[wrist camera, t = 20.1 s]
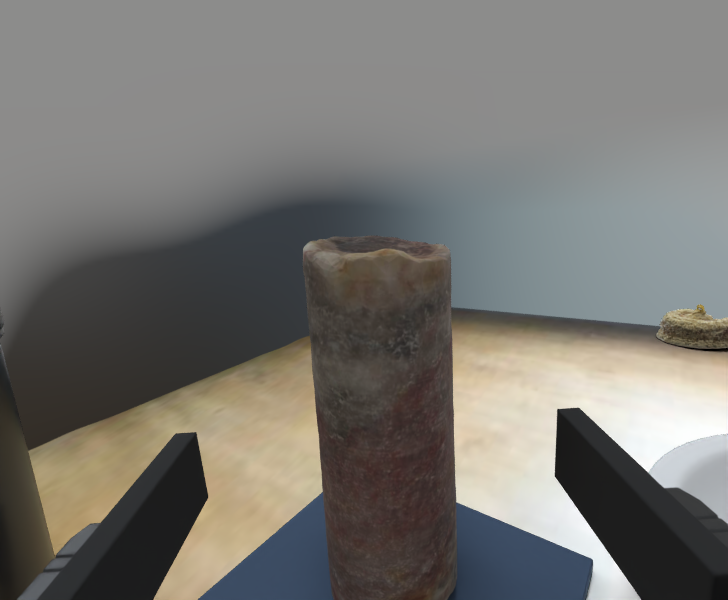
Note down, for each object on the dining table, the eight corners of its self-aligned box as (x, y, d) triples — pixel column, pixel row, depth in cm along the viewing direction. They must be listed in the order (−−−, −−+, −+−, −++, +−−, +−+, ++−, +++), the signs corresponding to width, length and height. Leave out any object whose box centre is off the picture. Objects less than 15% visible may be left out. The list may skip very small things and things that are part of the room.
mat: (186, 624, 23) (183, 610, 23) (359, 470, 35) (358, 461, 35) (500, 970, 12) (500, 949, 12) (592, 572, 24) (593, 558, 24)
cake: (700, 359, 53) (701, 320, 52) (639, 337, 63) (639, 304, 62) (765, 344, 54) (767, 306, 53) (695, 325, 64) (696, 292, 63)
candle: (404, 512, 29) (388, 230, 24) (488, 586, 23) (487, 230, 18) (309, 571, 25) (267, 243, 20) (380, 680, 19) (344, 250, 14)
